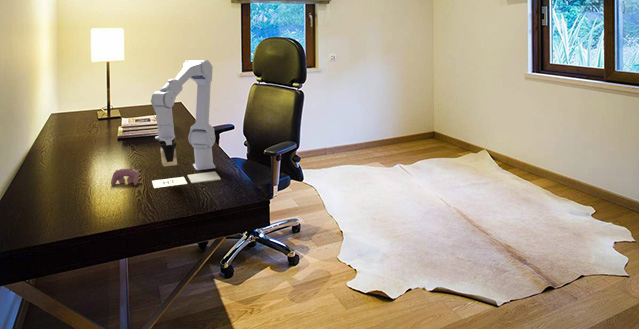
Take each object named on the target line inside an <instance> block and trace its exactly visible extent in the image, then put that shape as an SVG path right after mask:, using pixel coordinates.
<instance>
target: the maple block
mask: <svg viewBox="0 0 639 329" xmlns="http://www.w3.org/2000/svg"><path fill="white" fill-rule="evenodd" d="M159 149H160V156H161V157H160V158H161V164H162V166H163V167H169V166H178V161H177V160H178V159H177V149H176V148H175V150H174V157H173V162H167V160H166V157H165V154H164V151H163V149H162V147H160V148H159Z"/></svg>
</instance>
